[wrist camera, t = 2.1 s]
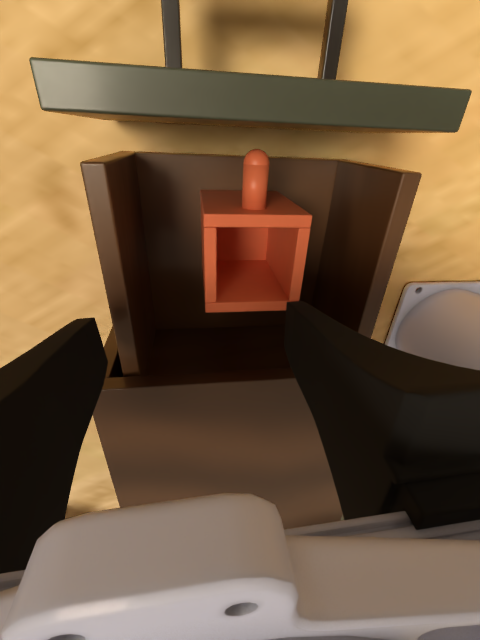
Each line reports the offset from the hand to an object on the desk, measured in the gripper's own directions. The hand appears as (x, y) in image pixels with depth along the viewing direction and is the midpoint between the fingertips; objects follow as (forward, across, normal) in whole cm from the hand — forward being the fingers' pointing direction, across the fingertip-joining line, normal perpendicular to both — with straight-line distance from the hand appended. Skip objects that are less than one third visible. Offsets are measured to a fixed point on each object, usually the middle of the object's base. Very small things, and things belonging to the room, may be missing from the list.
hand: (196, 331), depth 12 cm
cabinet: (+10, -2, +10) cm, 14 cm away
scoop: (+7, -3, -3) cm, 8 cm away
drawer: (+9, -3, -3) cm, 10 cm away
